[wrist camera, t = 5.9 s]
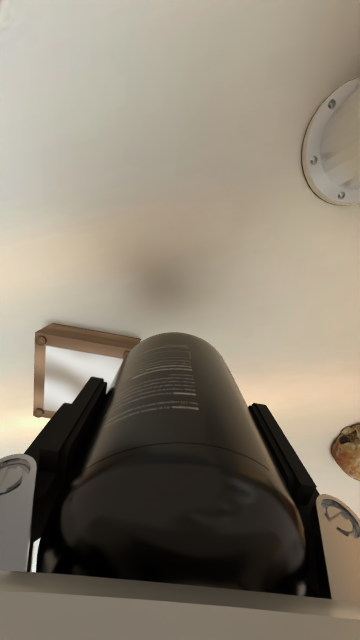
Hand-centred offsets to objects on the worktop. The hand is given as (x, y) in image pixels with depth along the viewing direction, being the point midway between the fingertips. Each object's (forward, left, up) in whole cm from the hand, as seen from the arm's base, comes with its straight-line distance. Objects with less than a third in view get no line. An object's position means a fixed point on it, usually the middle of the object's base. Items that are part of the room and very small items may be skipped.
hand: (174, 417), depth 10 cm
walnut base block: (+12, -11, -22) cm, 27 cm away
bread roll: (+18, +38, -22) cm, 47 cm away
